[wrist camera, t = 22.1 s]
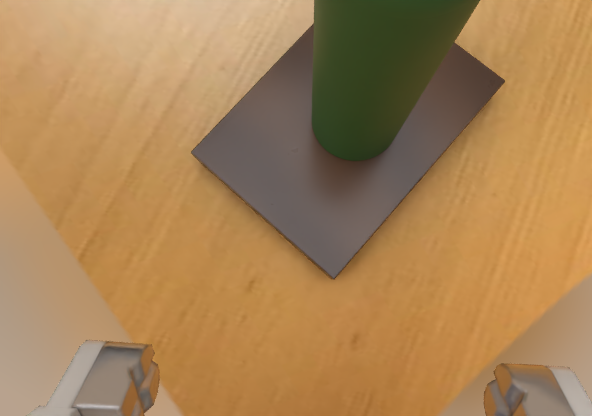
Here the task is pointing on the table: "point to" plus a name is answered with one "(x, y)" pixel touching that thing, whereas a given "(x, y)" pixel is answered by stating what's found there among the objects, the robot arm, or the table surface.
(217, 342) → the table surface
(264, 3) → the table surface
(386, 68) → the cucumber
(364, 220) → the board
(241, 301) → the table surface
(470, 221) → the table surface
